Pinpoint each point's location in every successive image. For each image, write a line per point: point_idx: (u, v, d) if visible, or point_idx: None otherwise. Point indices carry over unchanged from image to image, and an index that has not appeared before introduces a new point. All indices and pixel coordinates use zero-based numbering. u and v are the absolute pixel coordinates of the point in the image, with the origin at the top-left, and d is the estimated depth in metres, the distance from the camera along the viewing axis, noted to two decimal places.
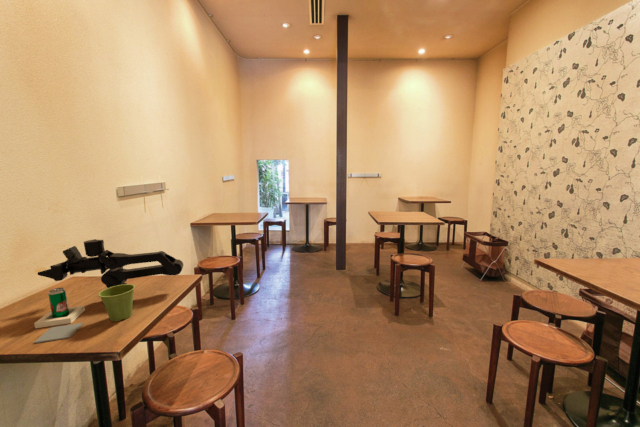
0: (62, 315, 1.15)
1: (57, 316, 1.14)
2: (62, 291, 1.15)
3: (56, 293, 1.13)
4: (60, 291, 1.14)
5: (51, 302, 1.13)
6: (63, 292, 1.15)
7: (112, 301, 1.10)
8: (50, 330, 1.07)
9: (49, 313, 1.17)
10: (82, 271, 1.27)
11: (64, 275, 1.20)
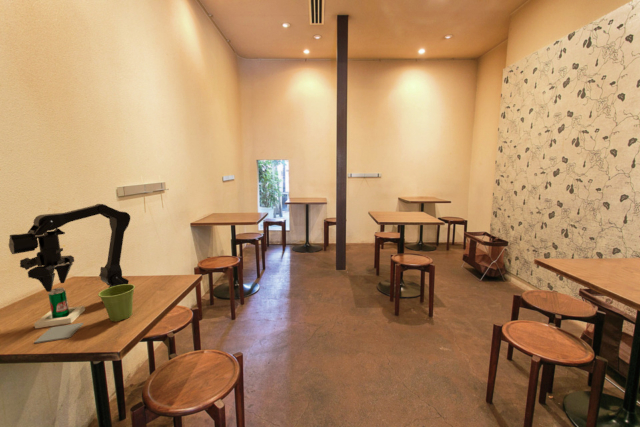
0: (62, 315, 1.15)
1: (57, 316, 1.14)
2: (62, 291, 1.15)
3: (56, 293, 1.13)
4: (60, 291, 1.14)
5: (51, 302, 1.13)
6: (63, 292, 1.15)
7: (112, 301, 1.10)
8: (50, 330, 1.07)
9: (49, 313, 1.17)
10: (53, 252, 1.11)
11: (44, 267, 1.06)
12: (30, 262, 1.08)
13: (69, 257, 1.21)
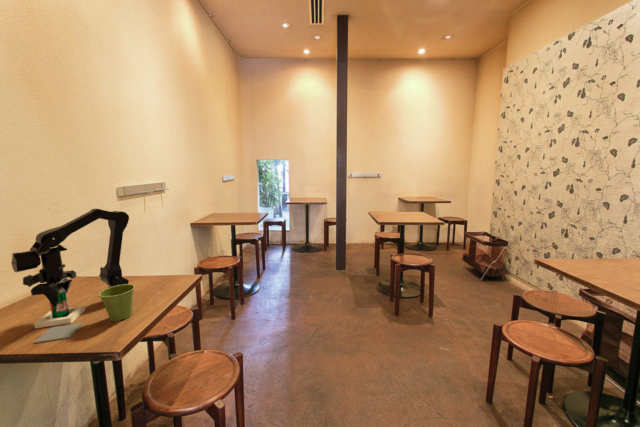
0: (62, 315, 1.15)
1: (57, 316, 1.14)
2: (62, 291, 1.15)
3: None
4: (60, 291, 1.14)
5: None
6: (63, 292, 1.15)
7: (112, 301, 1.10)
8: (50, 330, 1.07)
9: (49, 313, 1.17)
10: (56, 269, 1.12)
11: (47, 284, 1.07)
12: (33, 279, 1.09)
13: (71, 272, 1.21)
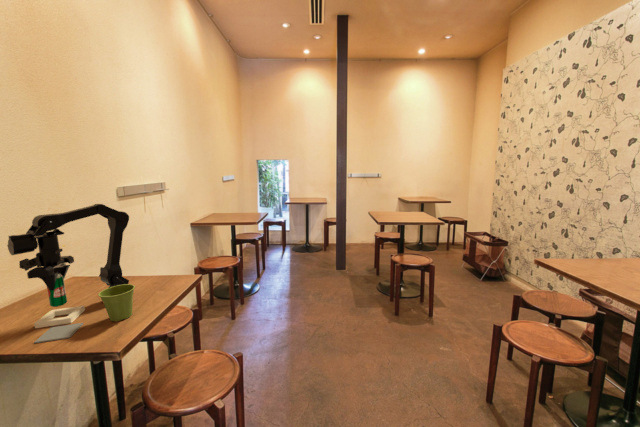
0: (59, 301, 1.14)
1: (54, 301, 1.13)
2: (59, 276, 1.14)
3: None
4: (57, 276, 1.13)
5: None
6: (60, 277, 1.14)
7: (112, 301, 1.10)
8: (50, 330, 1.07)
9: (49, 313, 1.17)
10: (53, 253, 1.11)
11: (44, 268, 1.06)
12: (29, 263, 1.08)
13: (69, 257, 1.20)
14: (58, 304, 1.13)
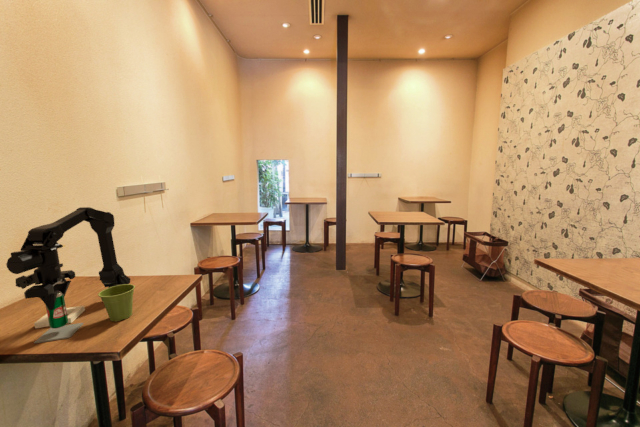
0: (60, 322, 1.04)
1: (54, 323, 1.03)
2: (59, 295, 1.04)
3: None
4: (57, 295, 1.03)
5: (47, 307, 1.02)
6: (61, 296, 1.04)
7: (112, 301, 1.10)
8: (50, 330, 1.07)
9: None
10: (52, 269, 1.01)
11: (42, 286, 0.96)
12: (27, 280, 0.98)
13: (70, 272, 1.10)
14: (58, 325, 1.04)
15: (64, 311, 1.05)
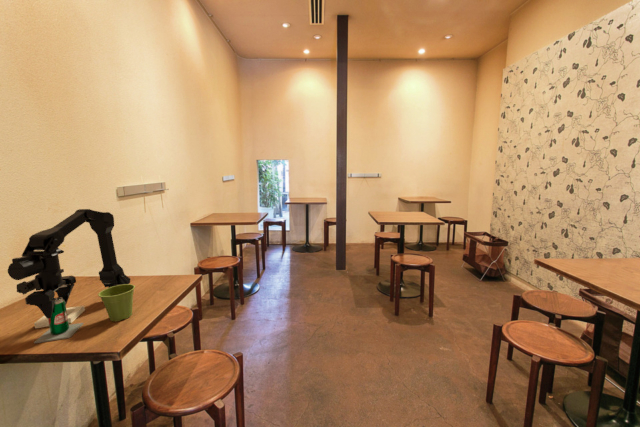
0: (60, 328, 1.04)
1: (55, 329, 1.03)
2: (61, 301, 1.04)
3: (54, 304, 1.02)
4: (58, 301, 1.03)
5: None
6: (62, 302, 1.04)
7: (112, 301, 1.10)
8: None
9: None
10: (53, 275, 1.01)
11: (43, 292, 0.96)
12: (28, 286, 0.98)
13: (70, 278, 1.10)
14: (59, 332, 1.04)
15: (65, 317, 1.05)
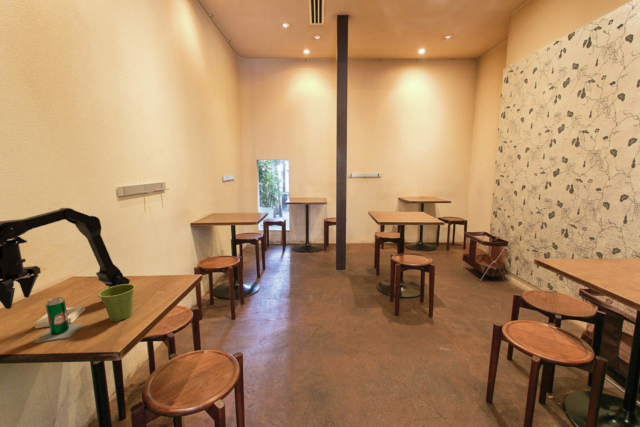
0: (61, 328, 1.04)
1: (55, 329, 1.03)
2: (61, 301, 1.04)
3: (54, 304, 1.02)
4: (58, 301, 1.03)
5: (48, 314, 1.02)
6: (62, 302, 1.04)
7: (112, 301, 1.10)
8: None
9: None
10: (13, 264, 0.98)
11: (1, 282, 0.93)
12: None
13: (34, 268, 1.08)
14: (59, 332, 1.04)
15: (65, 317, 1.05)
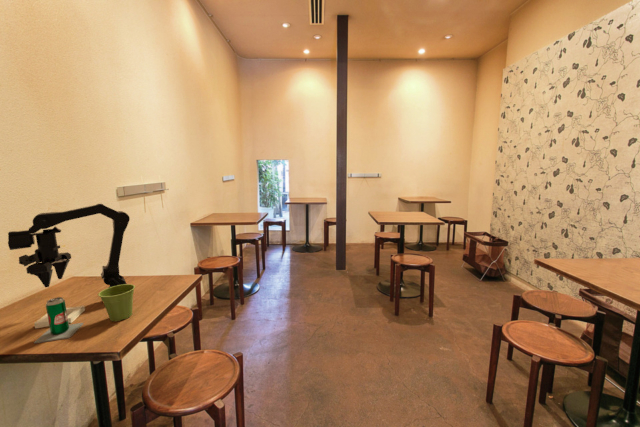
0: (60, 328, 1.04)
1: (55, 329, 1.03)
2: (61, 301, 1.04)
3: (54, 304, 1.02)
4: (58, 301, 1.03)
5: (48, 314, 1.02)
6: (62, 302, 1.04)
7: (112, 301, 1.10)
8: None
9: None
10: (51, 249, 1.16)
11: (42, 263, 1.11)
12: (28, 259, 1.13)
13: (66, 254, 1.25)
14: (59, 332, 1.04)
15: (65, 317, 1.05)
